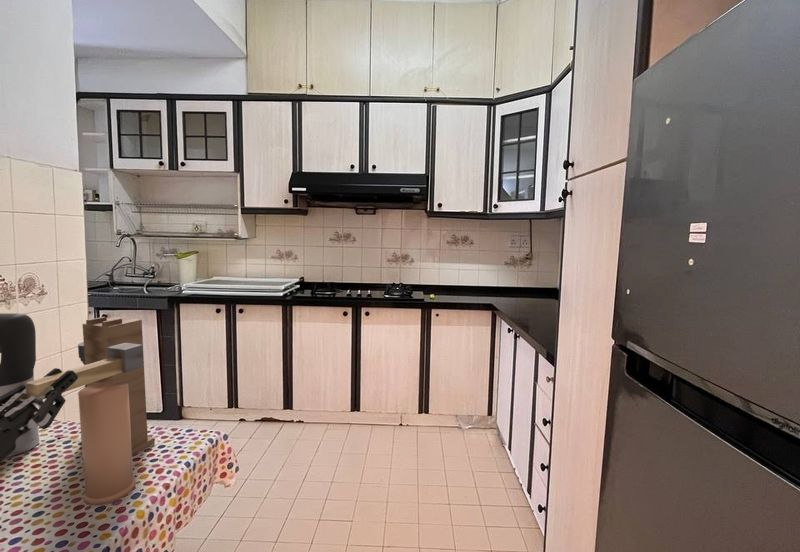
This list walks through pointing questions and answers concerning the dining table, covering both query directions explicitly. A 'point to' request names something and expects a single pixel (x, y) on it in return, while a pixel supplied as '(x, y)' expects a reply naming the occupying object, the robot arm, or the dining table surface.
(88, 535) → the dining table surface
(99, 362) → the mallet
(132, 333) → the stand
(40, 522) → the dining table surface
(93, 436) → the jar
